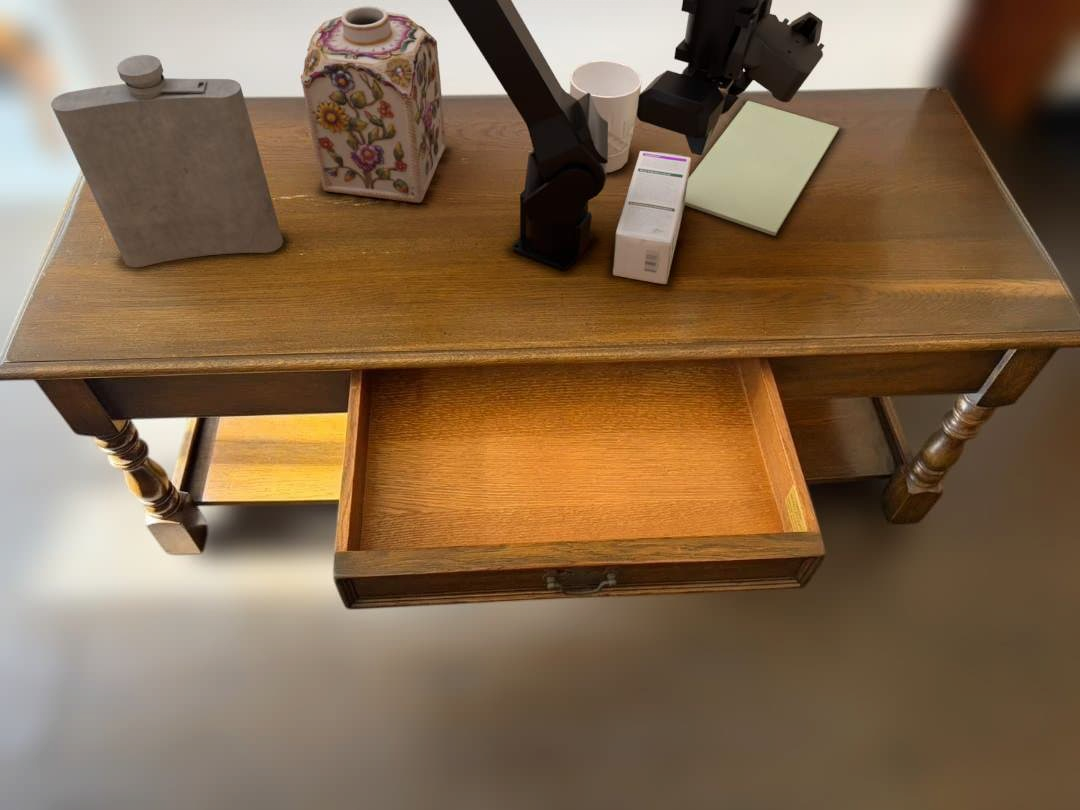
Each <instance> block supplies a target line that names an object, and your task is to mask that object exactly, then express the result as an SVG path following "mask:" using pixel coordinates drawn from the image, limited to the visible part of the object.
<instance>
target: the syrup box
mask: <svg viewBox="0 0 1080 810" xmlns="http://www.w3.org/2000/svg"><path fill="white" fill-rule="evenodd" d="M691 161H692V157H690V156H685V155H680V154H674V153H668V152H659V151H647V150H639V152H638V157H637V160H636V163H635V167H634V170H633V173H632V177H631V179H630V183H629V187H628V189H627V193H626V195H625V199H624V204H623V206H622V210H621V213H620V216H619V219H618V223H617V227H616V230H615V237H614V238H615V239H614V251H613V252H614V254H613V266H612V276H615V277H622V278H627V279H632V280H638V281H643V282H648V283H653V284H660V285H667V284H668V281H669V276H670V271H671V267H672V263H673V258H674V253H675V250H676V246H677V241H678V236H679V231H680V228H681V222H682V218H683V214H684V209H685V198H686V191H687V184H688V179H689V177H690V170H691V169H690V168H691Z"/></svg>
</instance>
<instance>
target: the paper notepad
mask: <svg viewBox="0 0 1080 810" xmlns="http://www.w3.org/2000/svg"><path fill="white" fill-rule="evenodd" d="M839 130H840V127H839V126H836V125H832V124H829V123H826V122H822V121H819V120H815V119H812V118H809V117H806V116H802V115H799V114H795V113H791V112H788V111H785V110H782V109H778V108H775V107H771V106H768V105H764V104H761V103H757V102H754V101H751V100H747V101H746V102H745V104H744V105H743V106H742V108H741V109H740V110H739V112H738V113H737V115H736V116H735V117H734V118H733V119H732V121H731V122H730V124H729V125H728V126H727V127H726V129H725V130H724V131H723V133H722V134H721V135H720V137H719V138H718V139H717V141H716V142H715V143H714V144H713V146H712V147H711V149H710V150H709V151H708V153H706V155H705V156H704V157H703V159H702V160H701V161H700V163H699V164H698V165H697V166H696V168H695V169H694V171H693V172H692V173H691V175H689V177H688V184H687V191H686V198H685V205H684V207H689V208H692V209H694V210H697V211H700V212H703V213H707V214H709V215H712V216H715V217H718V218H721V219H724V220H726V221H729V222H732V223H735V224H738V225H741V226H744V227H747V228H750V229H752V230H756V231H759V232H762V233H765V234H766V235H767V234H768V235H770V236H773V237H775V236H776V235H777V234H778V231H779V230H780V228H781V227H782V225H783V224H784V222H785V220H786V218H787V217H788V215H789V213H790V211H791V210H792V209H793V207H794V205H795V203H796V202H797V200H798V199H799V197H800V195H801V193H802V192H803V190H804V189H805V187H806V185H807V183H808V182H809V180H810V178H811V177H812V175H813V174H814V172H815V170H816V168H817V167H818V165H819V164H820V162H821V160H822V158H823V157H824V155H825V154H826V152H827V150H828V149H829V147H830V145H831V143H832V142H833V140H834V138H835V137H836V135H837V134H838V132H839Z"/></svg>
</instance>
